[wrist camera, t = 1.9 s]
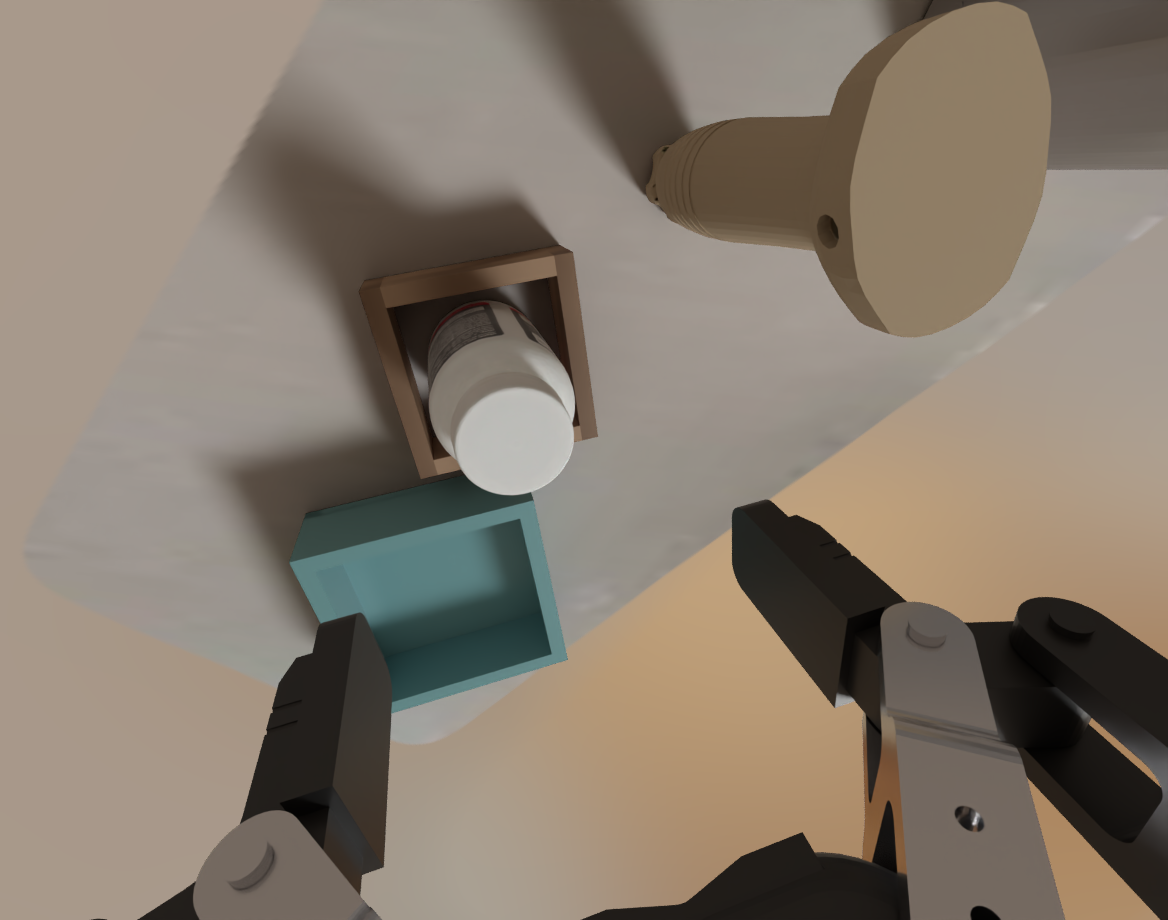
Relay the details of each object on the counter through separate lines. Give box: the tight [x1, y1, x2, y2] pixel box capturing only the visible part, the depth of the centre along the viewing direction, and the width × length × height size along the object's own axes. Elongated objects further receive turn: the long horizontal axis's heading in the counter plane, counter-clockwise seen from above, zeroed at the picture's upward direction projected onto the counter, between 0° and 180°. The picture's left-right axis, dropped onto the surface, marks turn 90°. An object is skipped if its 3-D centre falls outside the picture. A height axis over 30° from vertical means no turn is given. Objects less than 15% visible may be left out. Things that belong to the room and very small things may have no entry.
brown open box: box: [359, 245, 598, 479], centre depth 25 cm, size 9×9×2 cm
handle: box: [646, 1, 1051, 337], centre depth 18 cm, size 5×6×15 cm
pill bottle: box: [428, 300, 575, 495], centre depth 22 cm, size 5×5×10 cm
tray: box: [289, 475, 568, 713], centre depth 29 cm, size 11×11×4 cm
